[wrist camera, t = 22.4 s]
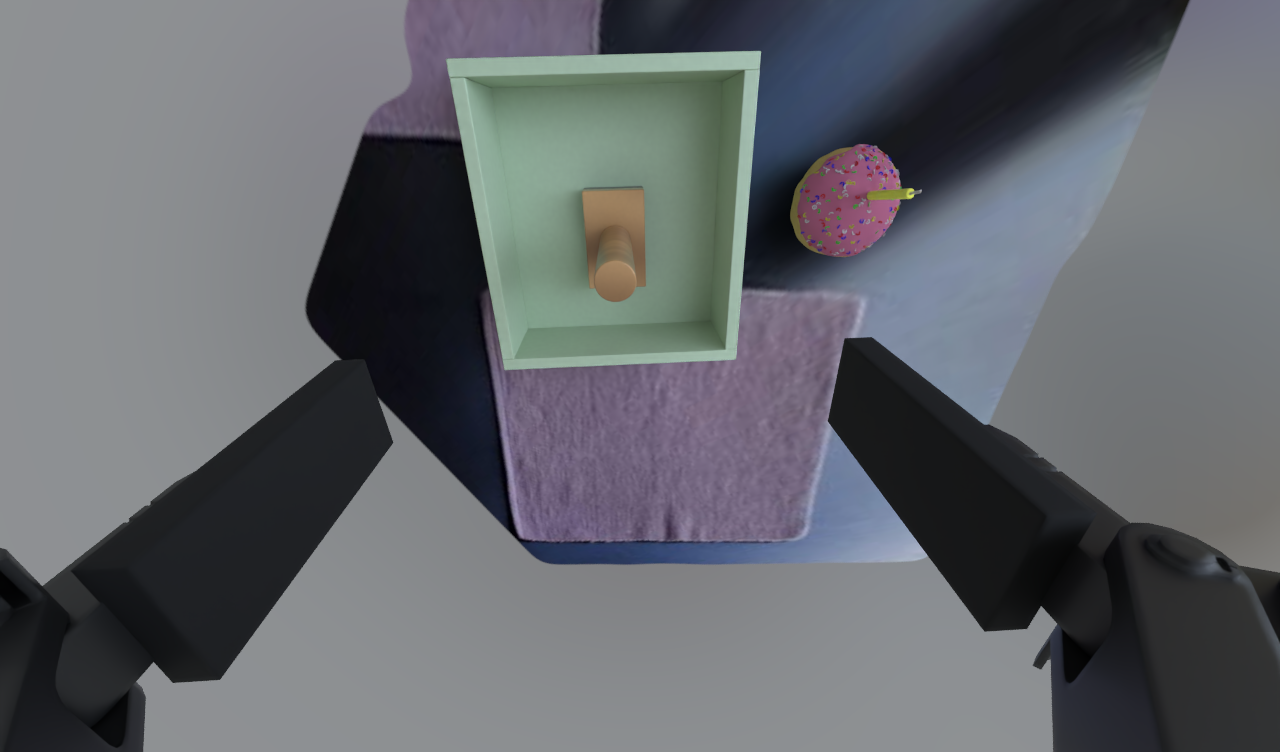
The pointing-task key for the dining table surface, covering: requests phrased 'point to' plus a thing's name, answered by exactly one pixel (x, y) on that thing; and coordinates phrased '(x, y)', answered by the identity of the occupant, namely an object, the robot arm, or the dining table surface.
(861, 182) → the cupcake
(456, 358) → the dining table surface
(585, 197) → the wooden stamp
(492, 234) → the tub
